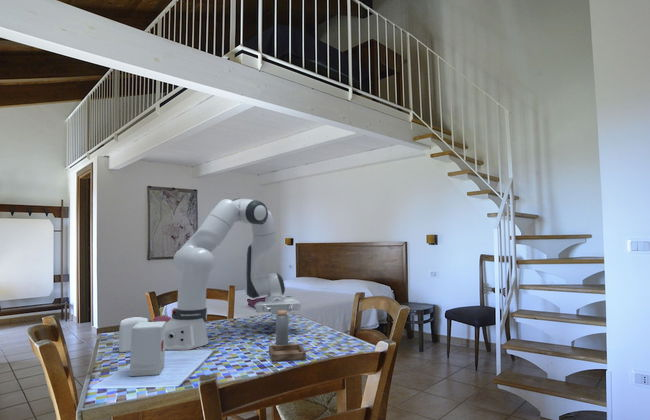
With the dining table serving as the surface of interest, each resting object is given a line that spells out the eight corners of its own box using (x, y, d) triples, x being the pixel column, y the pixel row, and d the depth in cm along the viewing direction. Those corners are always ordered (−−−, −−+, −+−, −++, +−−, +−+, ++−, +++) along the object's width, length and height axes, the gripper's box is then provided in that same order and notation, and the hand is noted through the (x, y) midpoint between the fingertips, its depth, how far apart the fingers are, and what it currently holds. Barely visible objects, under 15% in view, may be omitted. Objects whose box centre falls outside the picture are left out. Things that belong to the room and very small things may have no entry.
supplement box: (159, 375, 125) (161, 326, 126) (128, 377, 123) (130, 327, 124) (165, 366, 134) (166, 320, 135) (136, 367, 132) (138, 321, 133)
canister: (276, 347, 158) (276, 312, 159) (275, 343, 163) (275, 310, 164) (288, 346, 160) (289, 311, 160) (287, 343, 164) (287, 309, 165)
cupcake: (167, 333, 179) (168, 306, 180) (148, 333, 179) (149, 306, 180) (174, 329, 187) (175, 303, 188) (156, 328, 187) (157, 302, 188)
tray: (271, 361, 140) (272, 354, 140) (268, 352, 151) (269, 345, 151) (305, 359, 142) (305, 352, 142) (300, 350, 154) (300, 343, 154)
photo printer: (117, 353, 148) (119, 319, 149) (119, 350, 152) (120, 317, 153) (148, 350, 152) (149, 317, 153) (148, 347, 156) (149, 315, 157)
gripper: (253, 298, 186) (255, 303, 172) (297, 296, 190) (302, 301, 177) (253, 312, 185) (255, 318, 172) (297, 309, 190) (302, 315, 177)
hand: (279, 309), depth 174 cm, fingers open, 8 cm apart
